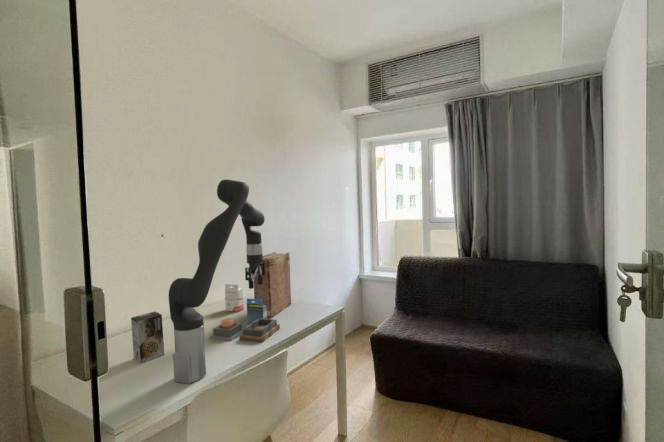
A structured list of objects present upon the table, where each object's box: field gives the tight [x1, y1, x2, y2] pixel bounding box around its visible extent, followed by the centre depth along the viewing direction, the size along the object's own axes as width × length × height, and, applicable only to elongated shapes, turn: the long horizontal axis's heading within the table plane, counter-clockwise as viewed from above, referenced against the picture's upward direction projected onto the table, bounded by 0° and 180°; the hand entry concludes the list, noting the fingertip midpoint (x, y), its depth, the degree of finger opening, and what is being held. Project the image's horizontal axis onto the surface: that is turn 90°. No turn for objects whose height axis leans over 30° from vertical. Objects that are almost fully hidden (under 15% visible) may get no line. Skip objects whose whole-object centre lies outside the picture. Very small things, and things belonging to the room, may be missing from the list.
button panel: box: [209, 322, 243, 341], centre depth 154 cm, size 11×11×4 cm
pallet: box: [239, 318, 281, 343], centre depth 154 cm, size 16×11×4 cm
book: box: [253, 251, 292, 319], centre depth 188 cm, size 25×9×30 cm, turn 163°
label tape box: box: [246, 298, 268, 325], centre depth 169 cm, size 9×4×12 cm, turn 73°
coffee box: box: [130, 311, 165, 364], centre depth 133 cm, size 9×6×16 cm
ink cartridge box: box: [224, 284, 244, 313], centre depth 191 cm, size 9×5×15 cm, turn 73°
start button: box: [220, 317, 235, 329], centre depth 154 cm, size 5×5×4 cm
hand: (255, 286), depth 168 cm, fingers open, 8 cm apart
